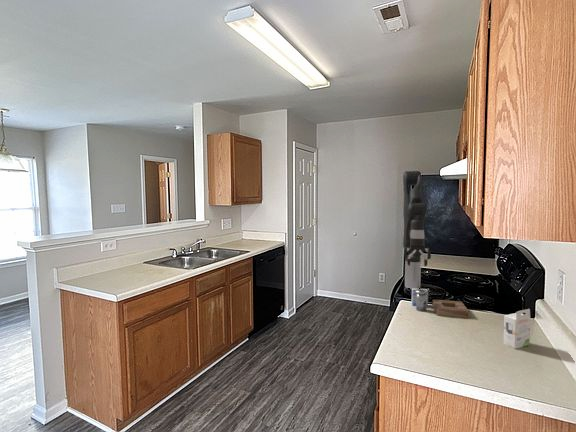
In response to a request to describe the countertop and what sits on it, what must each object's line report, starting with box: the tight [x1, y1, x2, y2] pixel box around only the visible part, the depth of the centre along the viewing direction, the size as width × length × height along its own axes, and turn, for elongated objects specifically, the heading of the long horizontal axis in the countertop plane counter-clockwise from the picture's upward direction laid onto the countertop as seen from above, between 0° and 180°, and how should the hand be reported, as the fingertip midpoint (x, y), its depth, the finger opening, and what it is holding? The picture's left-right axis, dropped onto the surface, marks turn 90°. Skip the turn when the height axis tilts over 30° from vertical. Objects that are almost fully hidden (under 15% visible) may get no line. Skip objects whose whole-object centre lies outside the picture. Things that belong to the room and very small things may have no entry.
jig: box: [431, 299, 470, 319], centre depth 162 cm, size 14×14×4 cm
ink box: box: [503, 308, 531, 350], centre depth 126 cm, size 9×5×15 cm, turn 111°
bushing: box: [415, 288, 429, 312], centre depth 165 cm, size 6×6×10 cm
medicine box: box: [411, 288, 429, 308], centre depth 173 cm, size 8×4×9 cm, turn 73°
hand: (417, 265), depth 184 cm, fingers open, 8 cm apart
